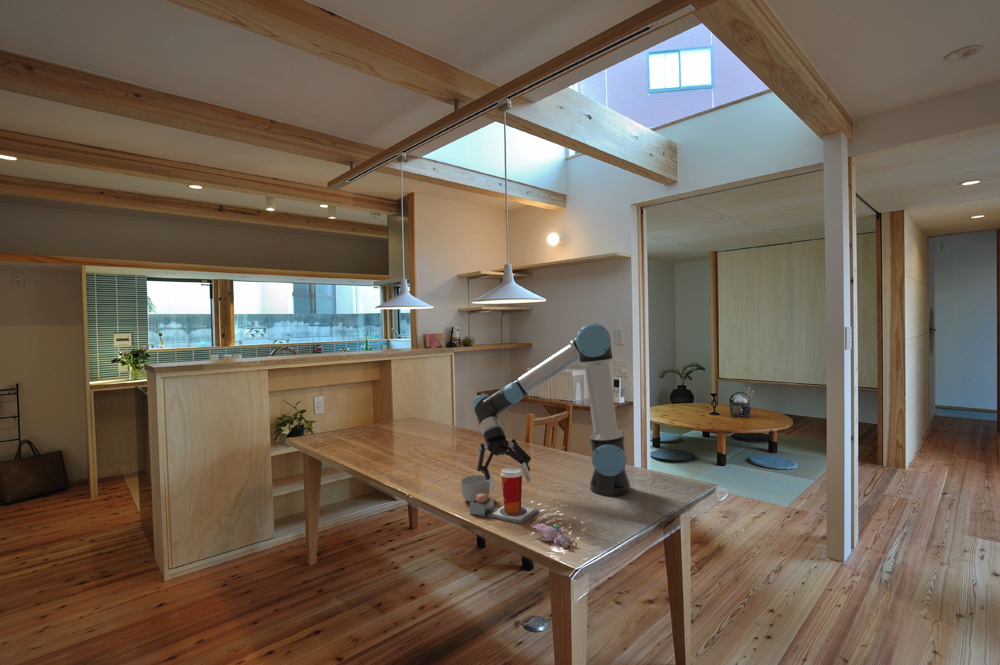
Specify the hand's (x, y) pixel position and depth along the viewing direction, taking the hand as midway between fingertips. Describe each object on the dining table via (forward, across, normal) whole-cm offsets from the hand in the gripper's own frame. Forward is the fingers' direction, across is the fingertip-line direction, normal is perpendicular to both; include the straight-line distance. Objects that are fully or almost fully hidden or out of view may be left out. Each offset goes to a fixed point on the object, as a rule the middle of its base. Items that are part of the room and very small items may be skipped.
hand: (512, 484), depth 161 cm
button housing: (+2, +9, -12) cm, 15 cm away
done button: (0, +9, -10) cm, 13 cm away
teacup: (-7, +5, -22) cm, 24 cm away
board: (+7, 0, -7) cm, 10 cm away
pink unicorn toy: (+25, -2, +10) cm, 27 cm away
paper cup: (+7, 0, -7) cm, 9 cm away
